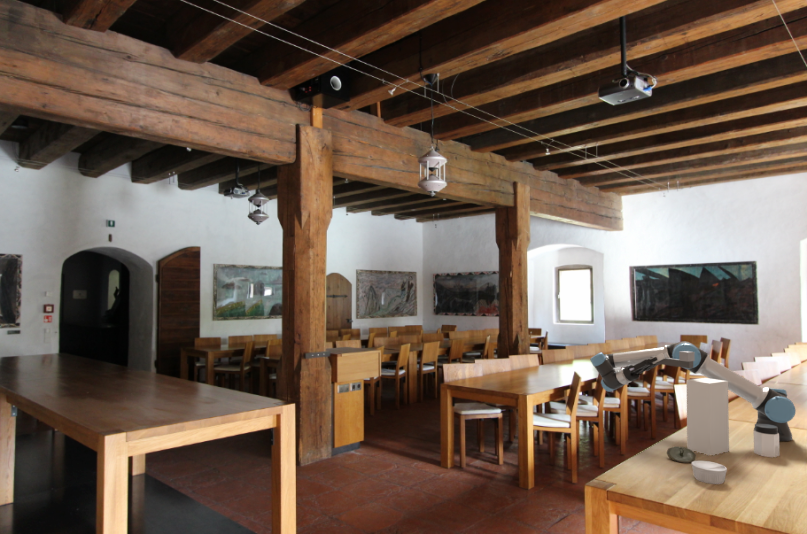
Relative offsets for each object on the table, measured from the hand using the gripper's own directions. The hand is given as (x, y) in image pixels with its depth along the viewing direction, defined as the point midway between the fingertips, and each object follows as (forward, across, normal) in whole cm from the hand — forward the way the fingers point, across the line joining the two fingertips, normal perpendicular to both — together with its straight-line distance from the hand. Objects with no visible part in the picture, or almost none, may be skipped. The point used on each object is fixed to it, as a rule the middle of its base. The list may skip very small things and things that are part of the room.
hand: (665, 355), depth 246 cm
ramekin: (+15, +36, -54) cm, 67 cm away
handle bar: (0, 0, -5) cm, 5 cm away
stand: (-3, 0, -43) cm, 43 cm away
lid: (-1, +22, -44) cm, 50 cm away
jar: (+10, -17, -51) cm, 55 cm away
